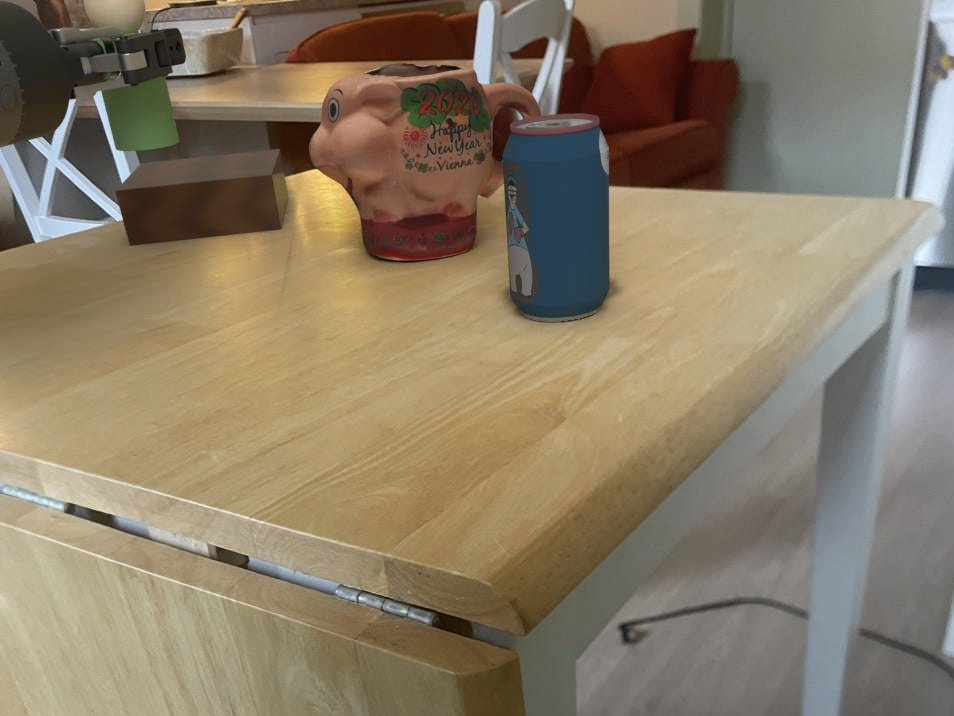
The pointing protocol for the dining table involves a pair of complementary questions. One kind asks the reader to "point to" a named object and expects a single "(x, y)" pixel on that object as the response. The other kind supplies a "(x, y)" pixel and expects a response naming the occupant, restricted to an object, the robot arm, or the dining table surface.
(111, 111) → the peg doll
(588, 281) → the soda can
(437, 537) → the dining table surface
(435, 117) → the pink ceramic mug
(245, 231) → the walnut block
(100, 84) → the robot arm
